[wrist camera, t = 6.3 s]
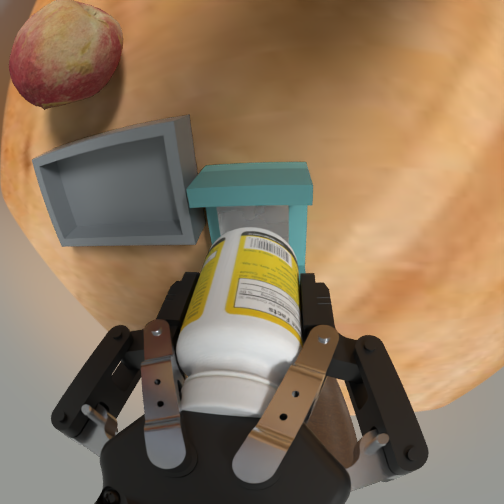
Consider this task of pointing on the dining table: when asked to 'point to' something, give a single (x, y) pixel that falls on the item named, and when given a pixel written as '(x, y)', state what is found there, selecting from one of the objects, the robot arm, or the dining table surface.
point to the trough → (123, 186)
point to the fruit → (65, 53)
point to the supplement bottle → (241, 325)
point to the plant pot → (334, 423)
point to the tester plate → (255, 218)
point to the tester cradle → (256, 194)
